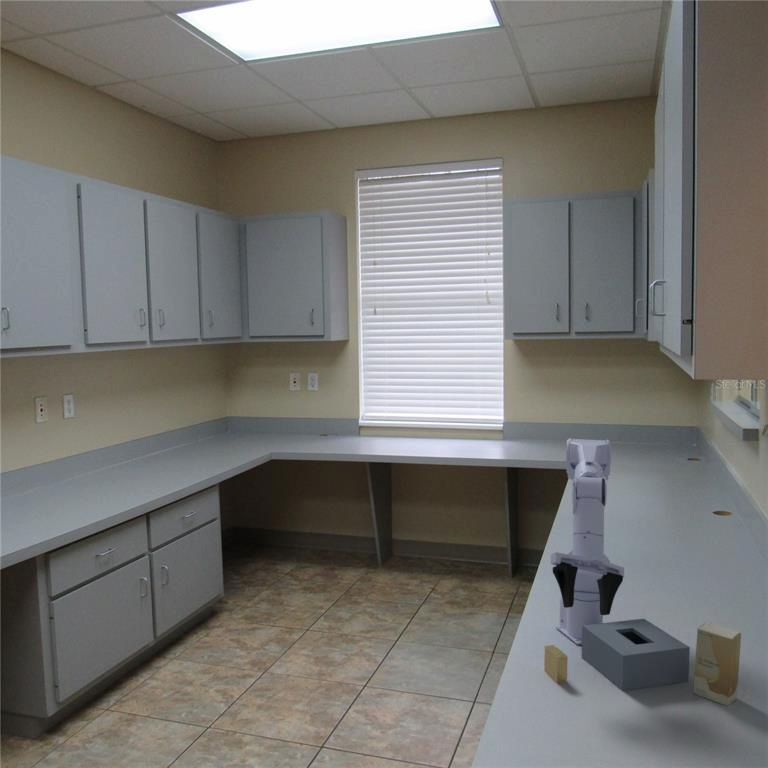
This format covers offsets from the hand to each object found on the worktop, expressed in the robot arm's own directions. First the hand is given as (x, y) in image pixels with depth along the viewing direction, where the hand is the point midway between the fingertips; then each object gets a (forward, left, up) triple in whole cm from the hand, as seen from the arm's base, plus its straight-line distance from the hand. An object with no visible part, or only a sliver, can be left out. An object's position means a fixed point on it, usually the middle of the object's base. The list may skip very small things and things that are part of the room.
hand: (586, 610), depth 135 cm
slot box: (-3, +12, -14) cm, 18 cm away
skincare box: (+10, +20, -14) cm, 26 cm away
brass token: (-4, -4, -14) cm, 15 cm away
